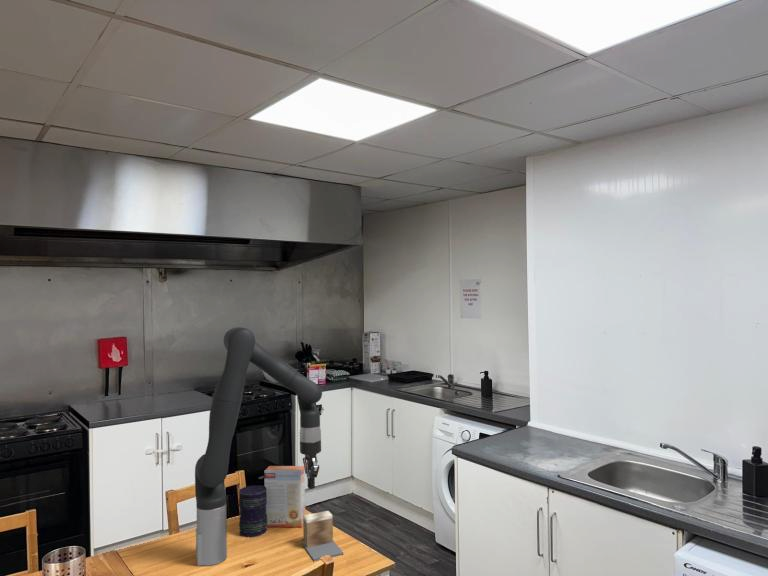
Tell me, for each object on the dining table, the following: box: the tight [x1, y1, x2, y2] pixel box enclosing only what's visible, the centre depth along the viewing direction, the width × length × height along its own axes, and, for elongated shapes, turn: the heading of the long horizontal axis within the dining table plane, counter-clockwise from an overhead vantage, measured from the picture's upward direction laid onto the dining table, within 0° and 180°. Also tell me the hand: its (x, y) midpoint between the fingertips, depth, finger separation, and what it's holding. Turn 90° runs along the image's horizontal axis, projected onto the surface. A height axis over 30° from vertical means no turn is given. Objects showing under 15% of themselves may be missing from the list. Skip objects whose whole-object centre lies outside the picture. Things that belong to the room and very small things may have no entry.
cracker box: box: [263, 465, 306, 528], centre depth 194 cm, size 14×6×21 cm, turn 84°
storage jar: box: [238, 484, 268, 539], centre depth 188 cm, size 10×10×15 cm
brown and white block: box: [302, 510, 334, 548], centre depth 177 cm, size 9×4×9 cm, turn 114°
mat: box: [301, 540, 344, 562], centre depth 173 cm, size 10×14×1 cm
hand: (311, 488), depth 184 cm, fingers closed
